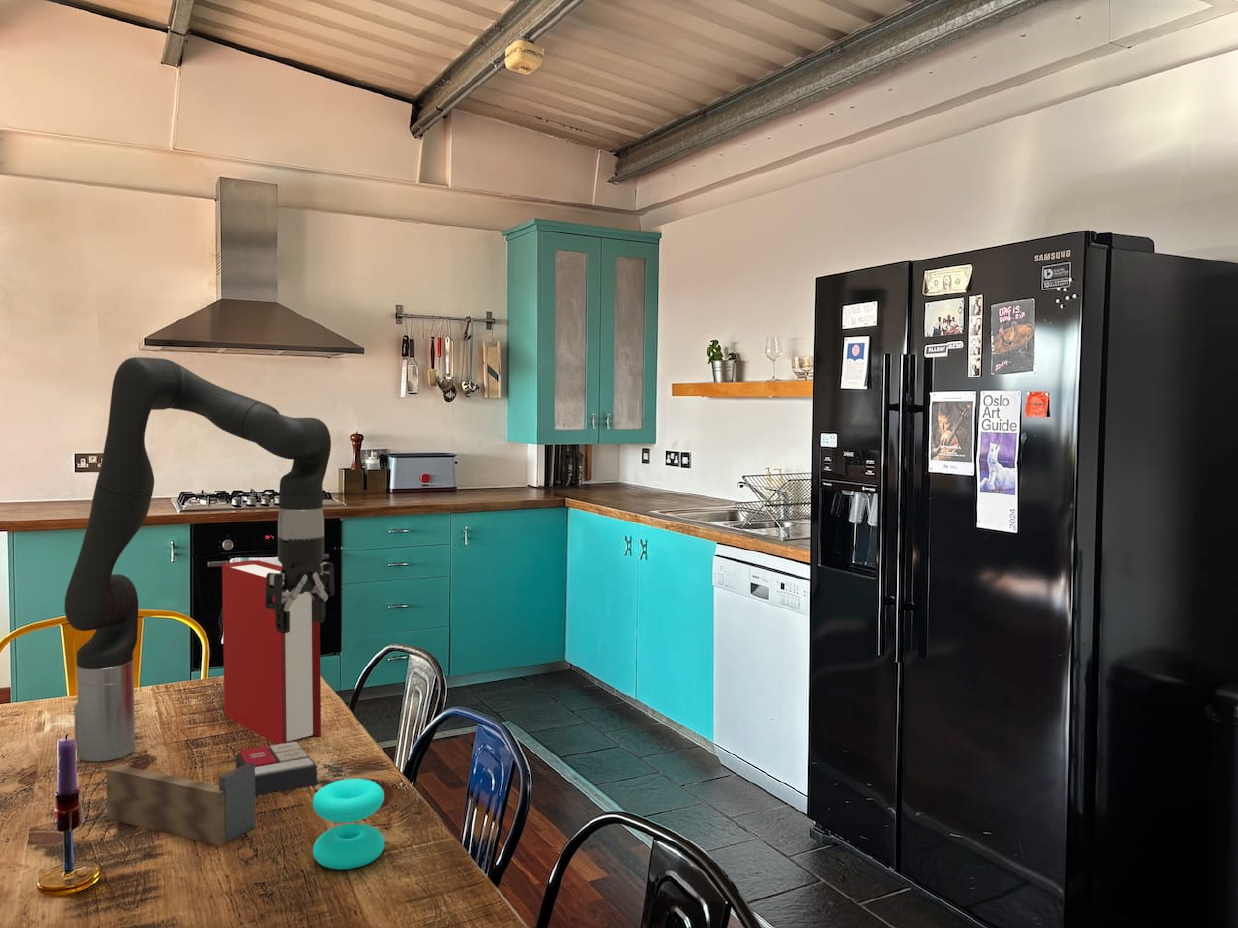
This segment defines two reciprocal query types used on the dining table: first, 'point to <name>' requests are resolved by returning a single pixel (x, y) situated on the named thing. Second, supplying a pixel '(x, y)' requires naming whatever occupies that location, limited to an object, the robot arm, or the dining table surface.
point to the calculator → (279, 767)
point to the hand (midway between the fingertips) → (301, 627)
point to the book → (269, 658)
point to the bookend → (239, 800)
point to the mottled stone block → (166, 804)
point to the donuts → (349, 840)
